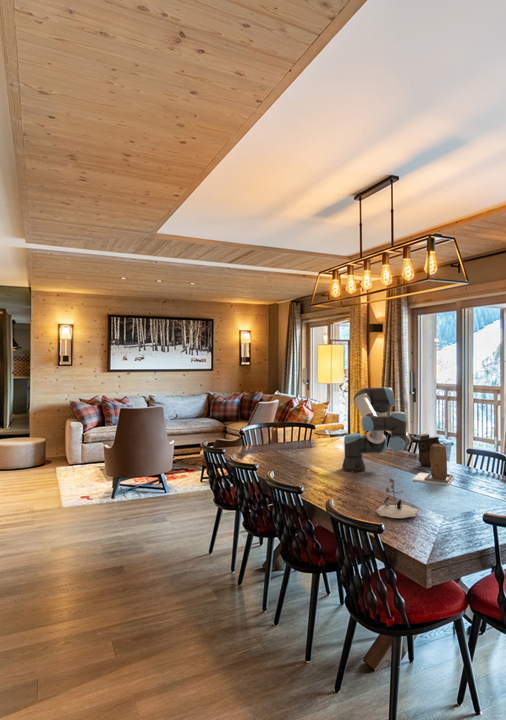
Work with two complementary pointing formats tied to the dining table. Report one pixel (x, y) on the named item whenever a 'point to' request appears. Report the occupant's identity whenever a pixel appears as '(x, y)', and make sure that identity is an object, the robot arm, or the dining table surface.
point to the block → (438, 461)
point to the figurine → (395, 507)
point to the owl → (426, 450)
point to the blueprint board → (432, 479)
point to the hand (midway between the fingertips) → (413, 433)
